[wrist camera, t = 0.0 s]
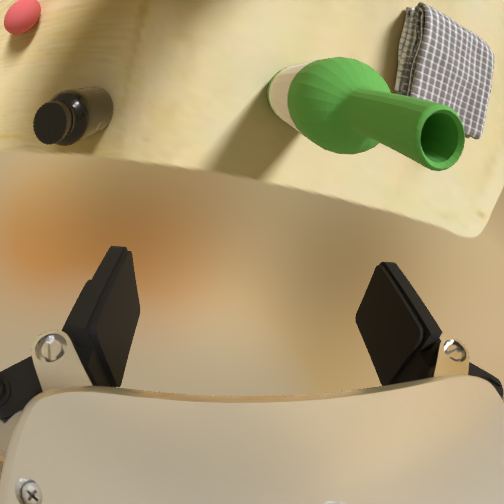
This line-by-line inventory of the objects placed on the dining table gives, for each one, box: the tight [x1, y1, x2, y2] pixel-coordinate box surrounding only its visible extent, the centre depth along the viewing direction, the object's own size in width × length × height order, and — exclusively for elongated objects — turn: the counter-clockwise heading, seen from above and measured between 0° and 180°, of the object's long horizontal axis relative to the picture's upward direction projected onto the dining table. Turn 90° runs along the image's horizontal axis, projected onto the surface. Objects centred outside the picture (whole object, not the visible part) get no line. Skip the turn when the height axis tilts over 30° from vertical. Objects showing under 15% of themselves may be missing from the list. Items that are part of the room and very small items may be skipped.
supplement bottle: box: [33, 87, 113, 146], centre depth 28 cm, size 7×7×12 cm
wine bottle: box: [267, 57, 465, 171], centre depth 22 cm, size 8×8×30 cm
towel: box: [394, 2, 494, 139], centre depth 29 cm, size 15×18×8 cm
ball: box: [4, 0, 41, 34], centre depth 20 cm, size 6×6×6 cm
